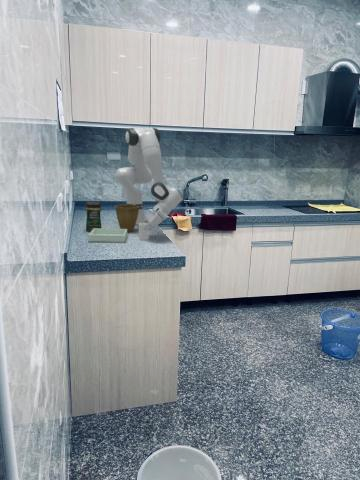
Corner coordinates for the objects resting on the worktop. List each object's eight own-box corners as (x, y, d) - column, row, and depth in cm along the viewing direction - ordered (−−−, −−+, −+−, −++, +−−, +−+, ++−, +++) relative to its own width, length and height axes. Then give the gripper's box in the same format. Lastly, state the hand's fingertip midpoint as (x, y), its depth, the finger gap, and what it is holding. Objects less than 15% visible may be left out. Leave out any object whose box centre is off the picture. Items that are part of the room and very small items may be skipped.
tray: (93, 234, 214) (93, 228, 213) (127, 235, 216) (127, 229, 215) (88, 242, 197) (88, 235, 196) (124, 242, 198) (124, 235, 197)
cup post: (147, 237, 212) (147, 222, 210) (148, 239, 207) (148, 224, 205) (138, 238, 210) (138, 223, 208) (139, 240, 206) (139, 224, 204)
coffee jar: (85, 232, 221) (85, 202, 217) (86, 229, 229) (85, 200, 224) (101, 231, 223) (101, 202, 219) (101, 229, 231) (101, 200, 226)
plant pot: (140, 233, 223) (140, 207, 219) (115, 233, 220) (115, 207, 216) (137, 228, 237) (138, 204, 233) (115, 228, 234) (115, 204, 230)
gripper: (153, 205, 216) (137, 221, 216) (159, 210, 197) (141, 228, 197) (160, 212, 218) (144, 228, 218) (167, 218, 199) (149, 235, 199)
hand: (143, 228), depth 207 cm, fingers open, 8 cm apart
